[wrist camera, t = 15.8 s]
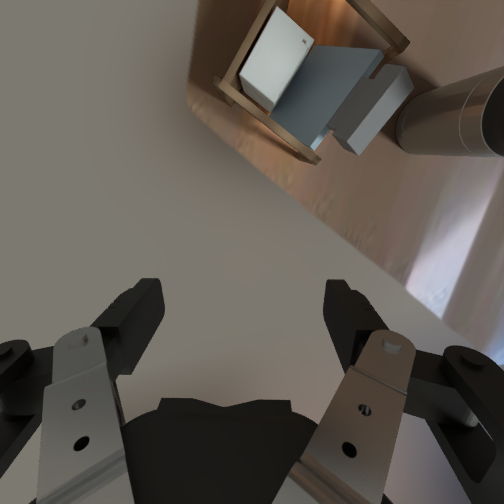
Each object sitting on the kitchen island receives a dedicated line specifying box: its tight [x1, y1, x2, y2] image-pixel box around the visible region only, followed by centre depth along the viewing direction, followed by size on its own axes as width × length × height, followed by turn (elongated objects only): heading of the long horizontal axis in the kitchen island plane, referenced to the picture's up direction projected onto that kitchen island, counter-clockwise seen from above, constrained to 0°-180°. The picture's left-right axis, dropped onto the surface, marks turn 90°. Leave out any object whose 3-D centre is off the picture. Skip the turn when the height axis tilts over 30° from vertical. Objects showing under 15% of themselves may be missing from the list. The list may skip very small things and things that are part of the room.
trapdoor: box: [269, 45, 414, 156], centre depth 32 cm, size 18×12×3 cm
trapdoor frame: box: [212, 0, 410, 165], centre depth 33 cm, size 15×15×14 cm
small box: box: [239, 6, 314, 113], centre depth 34 cm, size 8×6×10 cm
